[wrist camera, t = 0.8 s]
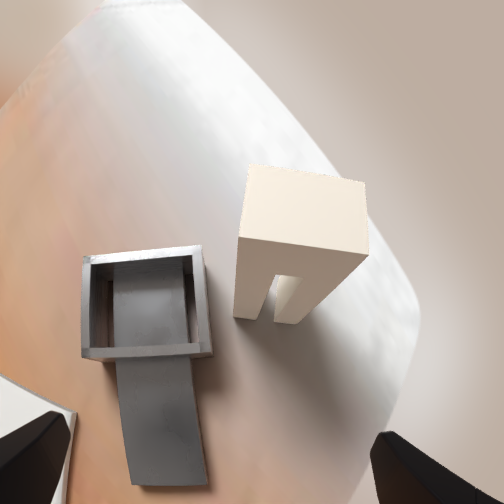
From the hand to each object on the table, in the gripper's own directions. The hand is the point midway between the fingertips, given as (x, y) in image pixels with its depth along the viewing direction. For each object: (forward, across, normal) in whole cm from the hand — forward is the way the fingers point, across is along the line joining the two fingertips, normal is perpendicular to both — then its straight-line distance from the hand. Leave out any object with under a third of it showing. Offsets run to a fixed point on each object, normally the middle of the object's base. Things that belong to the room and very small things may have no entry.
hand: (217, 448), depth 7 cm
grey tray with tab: (+12, +5, +6) cm, 14 cm away
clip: (+15, -3, +2) cm, 15 cm away
